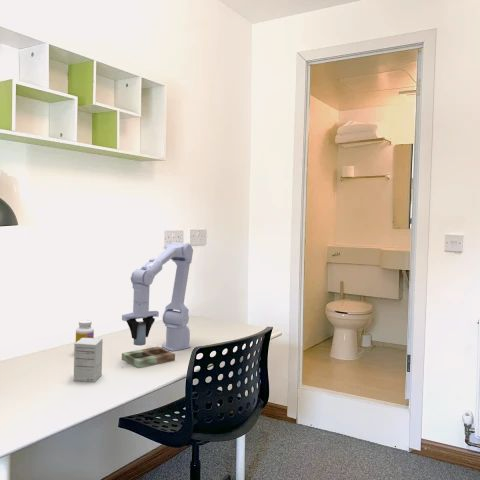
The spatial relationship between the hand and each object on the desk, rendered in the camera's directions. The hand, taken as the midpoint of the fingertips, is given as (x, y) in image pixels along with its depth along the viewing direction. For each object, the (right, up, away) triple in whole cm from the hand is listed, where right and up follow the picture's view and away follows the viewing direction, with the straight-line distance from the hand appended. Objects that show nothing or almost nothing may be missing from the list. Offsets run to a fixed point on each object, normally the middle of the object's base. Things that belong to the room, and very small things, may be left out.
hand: (139, 337), depth 178 cm
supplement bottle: (-23, -8, +7) cm, 25 cm away
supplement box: (-14, -10, -18) cm, 25 cm away
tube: (0, -2, 0) cm, 2 cm away
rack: (+2, -9, +3) cm, 10 cm away
